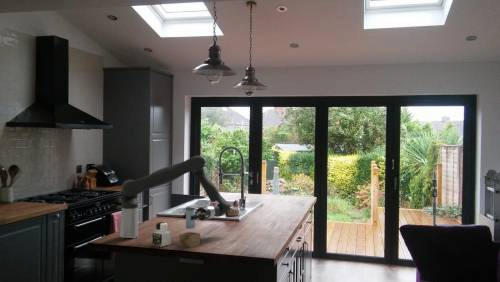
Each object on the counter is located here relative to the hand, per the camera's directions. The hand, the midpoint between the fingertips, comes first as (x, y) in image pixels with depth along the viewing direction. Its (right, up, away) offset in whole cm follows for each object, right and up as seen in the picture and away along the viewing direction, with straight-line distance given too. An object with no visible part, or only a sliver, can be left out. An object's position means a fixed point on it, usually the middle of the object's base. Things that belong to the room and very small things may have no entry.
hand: (187, 217), depth 228 cm
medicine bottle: (-14, -15, +2) cm, 21 cm away
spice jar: (+1, -6, +2) cm, 7 cm away
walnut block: (+1, -15, +2) cm, 16 cm away
